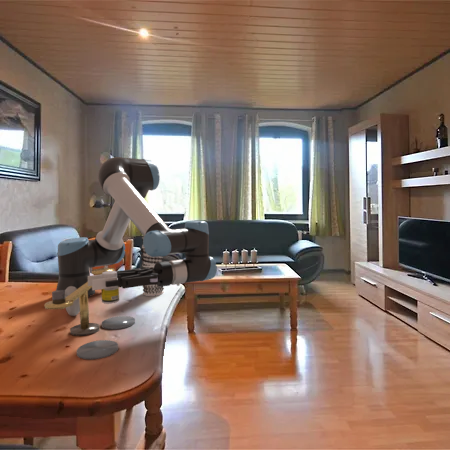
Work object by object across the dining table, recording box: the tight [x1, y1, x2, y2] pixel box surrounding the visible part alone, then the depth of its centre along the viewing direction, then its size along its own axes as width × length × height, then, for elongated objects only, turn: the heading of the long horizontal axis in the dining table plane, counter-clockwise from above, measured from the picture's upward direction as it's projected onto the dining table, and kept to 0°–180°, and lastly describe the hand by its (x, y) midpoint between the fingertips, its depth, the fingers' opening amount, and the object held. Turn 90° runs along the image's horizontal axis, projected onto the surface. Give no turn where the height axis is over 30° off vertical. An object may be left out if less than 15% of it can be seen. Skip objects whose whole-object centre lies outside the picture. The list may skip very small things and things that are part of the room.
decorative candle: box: [140, 235, 165, 297], centre depth 147 cm, size 9×9×25 cm
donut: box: [65, 286, 80, 317], centre depth 119 cm, size 10×4×10 cm, turn 40°
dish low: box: [76, 339, 119, 361], centre depth 90 cm, size 10×10×1 cm
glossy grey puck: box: [101, 315, 136, 330], centre depth 111 cm, size 10×10×1 cm
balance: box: [44, 267, 116, 337], centre depth 104 cm, size 8×26×16 cm, turn 162°
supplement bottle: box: [100, 270, 120, 305], centre depth 100 cm, size 5×5×8 cm
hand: (90, 283), depth 97 cm, fingers closed on supplement bottle, 5 cm apart
